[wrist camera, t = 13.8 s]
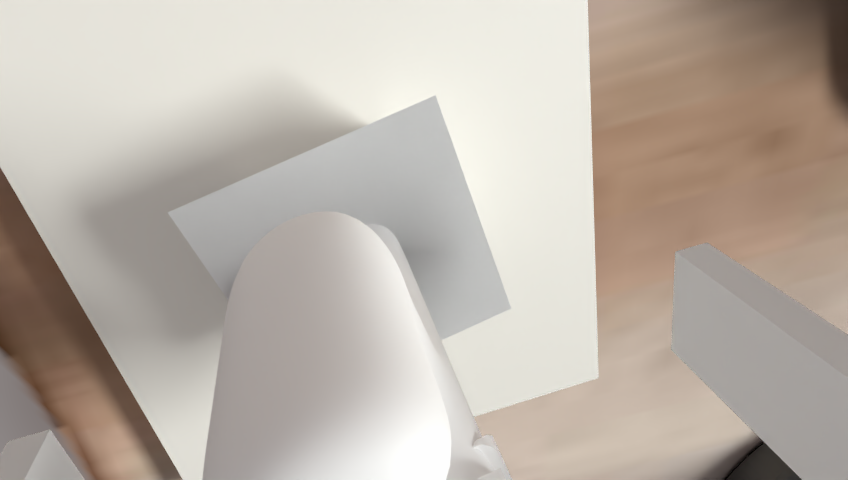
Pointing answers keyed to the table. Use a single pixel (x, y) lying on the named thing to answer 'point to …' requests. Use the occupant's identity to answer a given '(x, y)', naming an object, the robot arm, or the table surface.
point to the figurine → (348, 310)
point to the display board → (284, 139)
